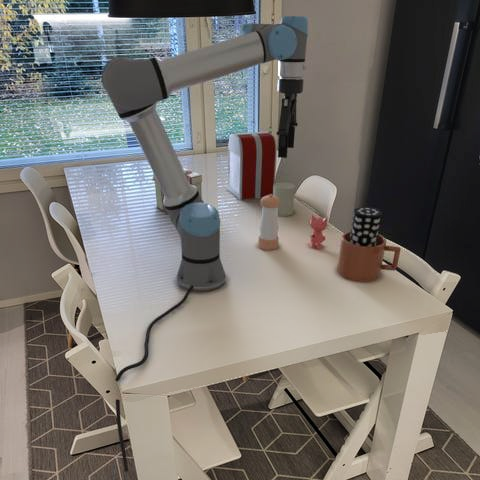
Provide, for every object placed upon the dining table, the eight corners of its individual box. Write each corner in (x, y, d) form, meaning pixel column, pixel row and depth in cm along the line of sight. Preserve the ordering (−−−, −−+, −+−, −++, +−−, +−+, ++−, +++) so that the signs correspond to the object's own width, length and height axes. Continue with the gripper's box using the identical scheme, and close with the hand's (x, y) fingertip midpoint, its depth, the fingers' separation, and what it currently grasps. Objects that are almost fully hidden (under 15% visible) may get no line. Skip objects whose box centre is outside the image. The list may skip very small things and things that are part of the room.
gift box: (148, 209, 207) (144, 168, 198) (182, 200, 218) (180, 161, 209) (172, 219, 197) (170, 177, 188) (206, 209, 208) (206, 169, 199)
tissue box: (275, 196, 226) (278, 135, 211) (240, 200, 220) (241, 138, 206) (260, 186, 239) (263, 128, 224) (227, 189, 233) (227, 130, 218)
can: (268, 213, 206) (269, 185, 199) (277, 207, 213) (278, 179, 206) (288, 217, 202) (290, 188, 196) (296, 210, 209) (298, 183, 203)
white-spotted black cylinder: (371, 276, 155) (382, 217, 144) (345, 274, 156) (354, 215, 145) (370, 265, 162) (380, 208, 151) (345, 263, 163) (353, 206, 152)
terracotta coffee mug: (335, 279, 155) (340, 244, 149) (338, 261, 167) (343, 228, 160) (395, 286, 152) (402, 251, 145) (394, 267, 163) (401, 234, 157)
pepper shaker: (261, 250, 173) (264, 198, 163) (255, 242, 179) (257, 191, 169) (280, 248, 175) (284, 196, 164) (274, 241, 181) (277, 190, 170)
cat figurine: (328, 245, 178) (332, 214, 171) (321, 252, 173) (324, 220, 166) (310, 241, 181) (313, 210, 174) (303, 247, 176) (306, 216, 169)
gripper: (297, 83, 131) (291, 162, 142) (308, 74, 151) (303, 144, 163) (270, 81, 132) (266, 160, 144) (285, 73, 153) (281, 143, 164)
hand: (285, 152), depth 153 cm, fingers open, 13 cm apart
